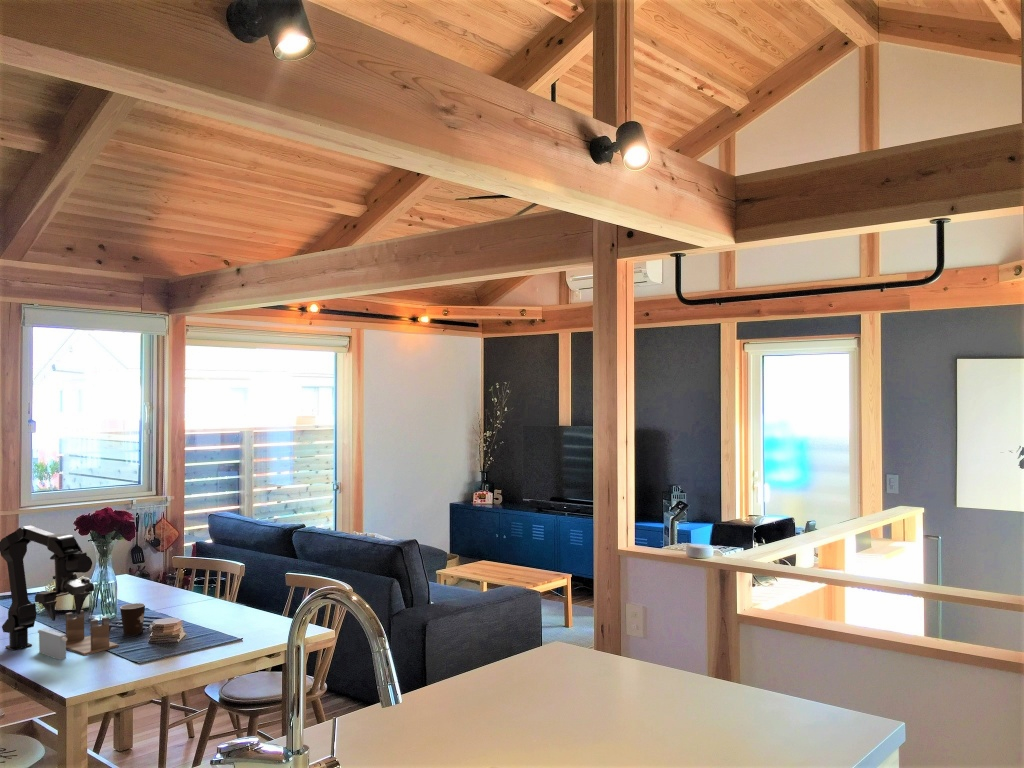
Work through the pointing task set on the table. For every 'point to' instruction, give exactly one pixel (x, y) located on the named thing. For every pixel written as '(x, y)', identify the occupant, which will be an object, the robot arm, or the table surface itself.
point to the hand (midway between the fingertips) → (66, 617)
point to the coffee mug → (132, 618)
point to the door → (52, 643)
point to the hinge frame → (89, 643)
